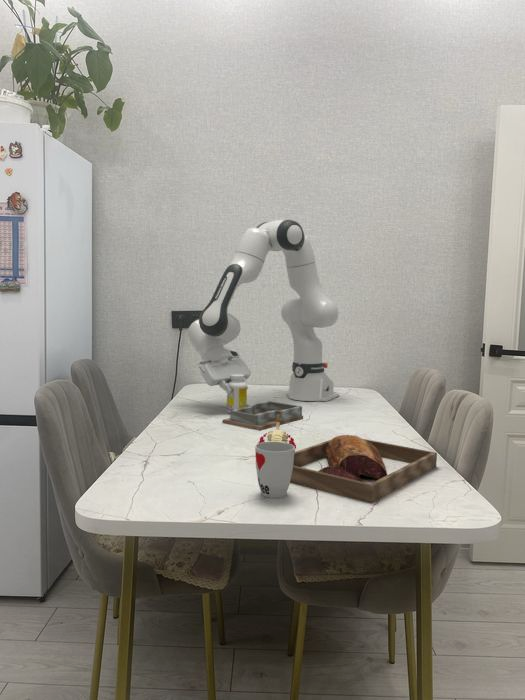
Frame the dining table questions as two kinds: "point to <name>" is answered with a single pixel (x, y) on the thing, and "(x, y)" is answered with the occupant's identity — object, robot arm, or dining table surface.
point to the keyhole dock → (264, 415)
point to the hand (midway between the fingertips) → (238, 390)
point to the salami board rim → (357, 489)
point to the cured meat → (353, 458)
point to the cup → (274, 467)
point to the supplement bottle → (237, 393)
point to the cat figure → (278, 435)
